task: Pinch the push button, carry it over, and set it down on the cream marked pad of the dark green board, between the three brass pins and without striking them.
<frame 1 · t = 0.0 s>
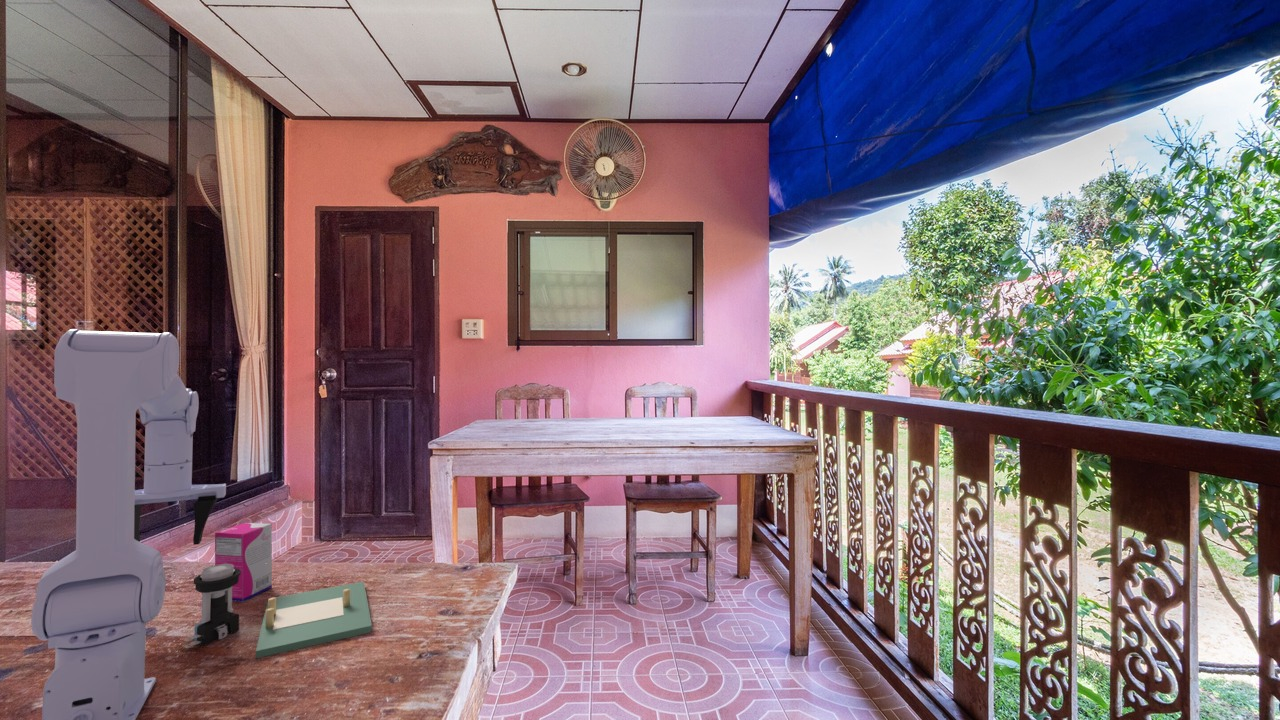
hand: (166, 546, 83), 10 cm above the table, tool pointing down, fingers open, 7 cm apart
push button: (211, 640, 75), on the table
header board: (317, 617, 81), on the table
supplement box: (243, 594, 89), on the table
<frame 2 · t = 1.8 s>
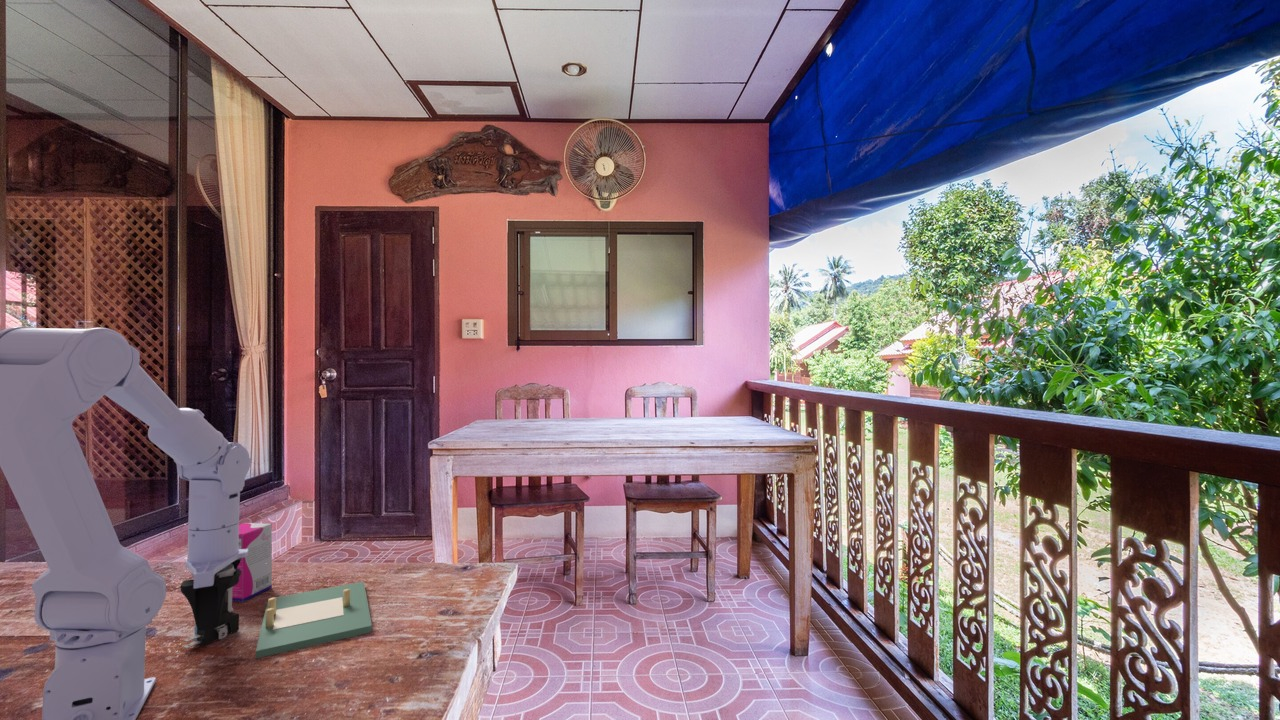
hand: (211, 618, 75), 3 cm above the table, tool pointing down, fingers open, 5 cm apart
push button: (211, 640, 75), on the table, touching gripper
everything else where it was.
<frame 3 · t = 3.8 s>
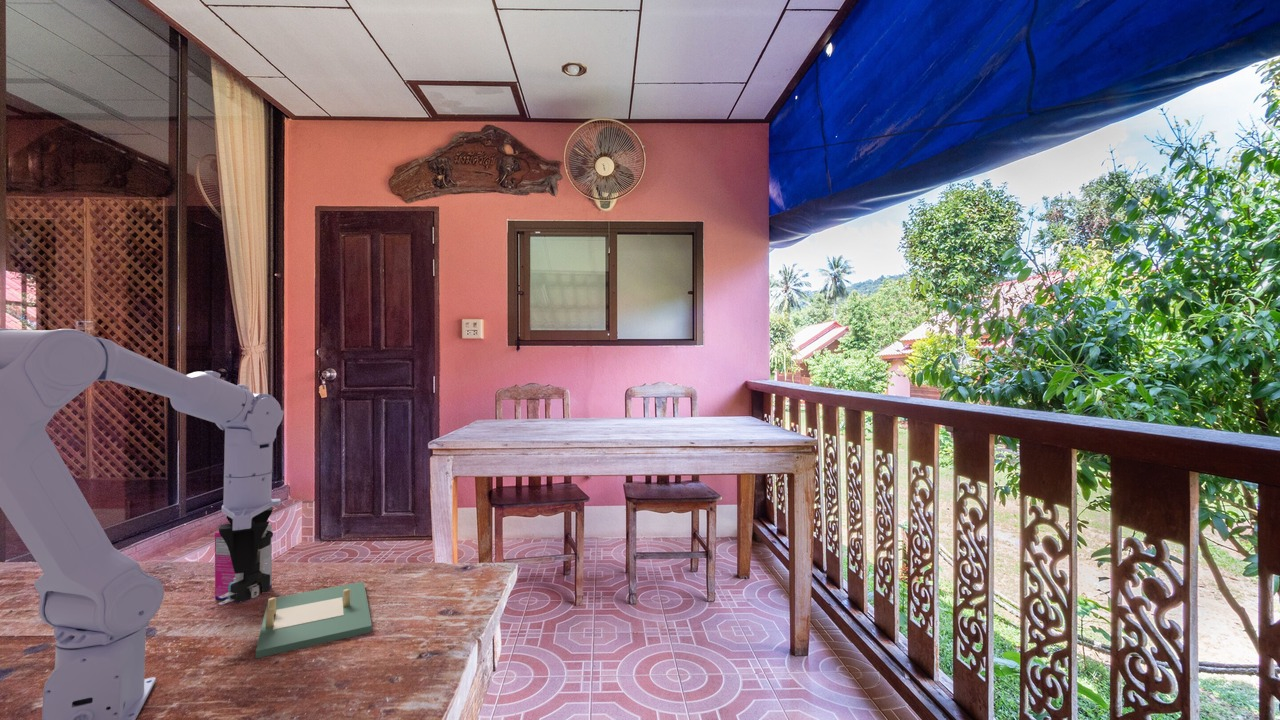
hand: (246, 564, 77), 10 cm above the table, tool pointing down, fingers closed on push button, 5 cm apart
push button: (243, 599, 76), point 5 cm above the table, touching gripper
everything else where it was.
when the fingers open (5 cm above the table, at t = 5.9 s): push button stays where it is, resting on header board.
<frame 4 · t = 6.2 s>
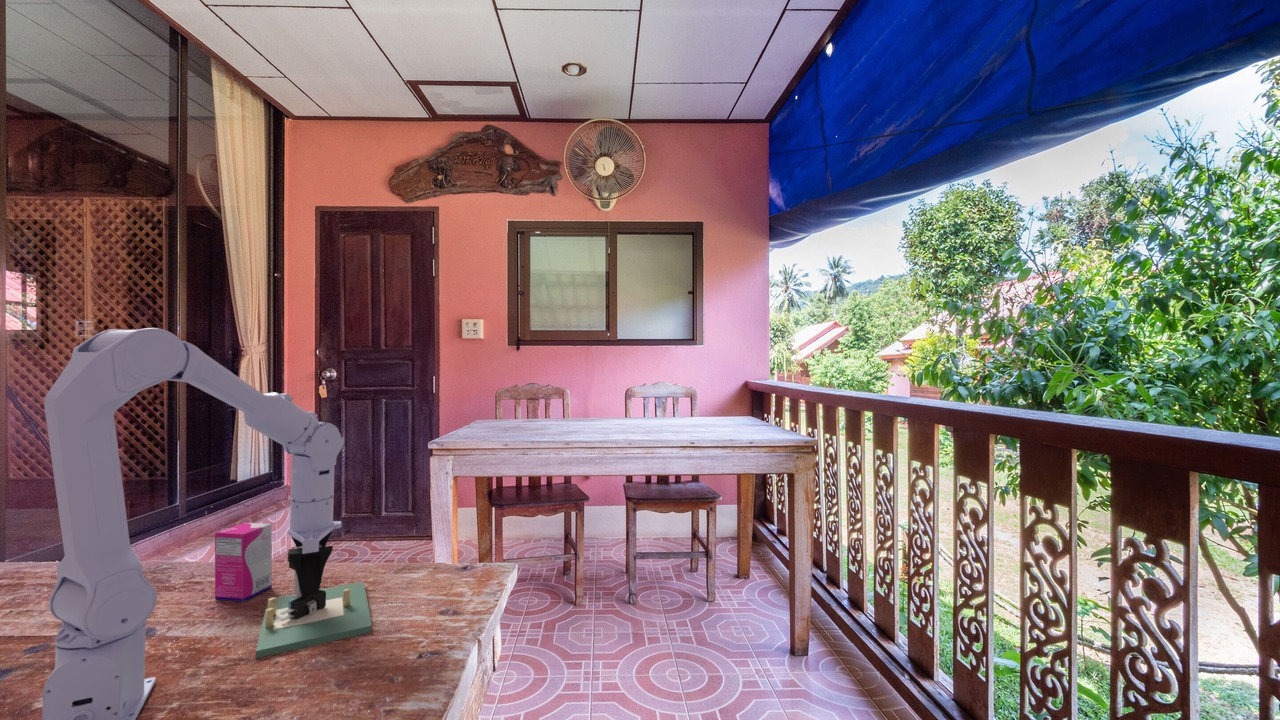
hand: (310, 584, 81), 5 cm above the table, tool pointing down, fingers open, 7 cm apart
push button: (302, 615, 80), point 1 cm above the table, touching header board
everything else where it was.
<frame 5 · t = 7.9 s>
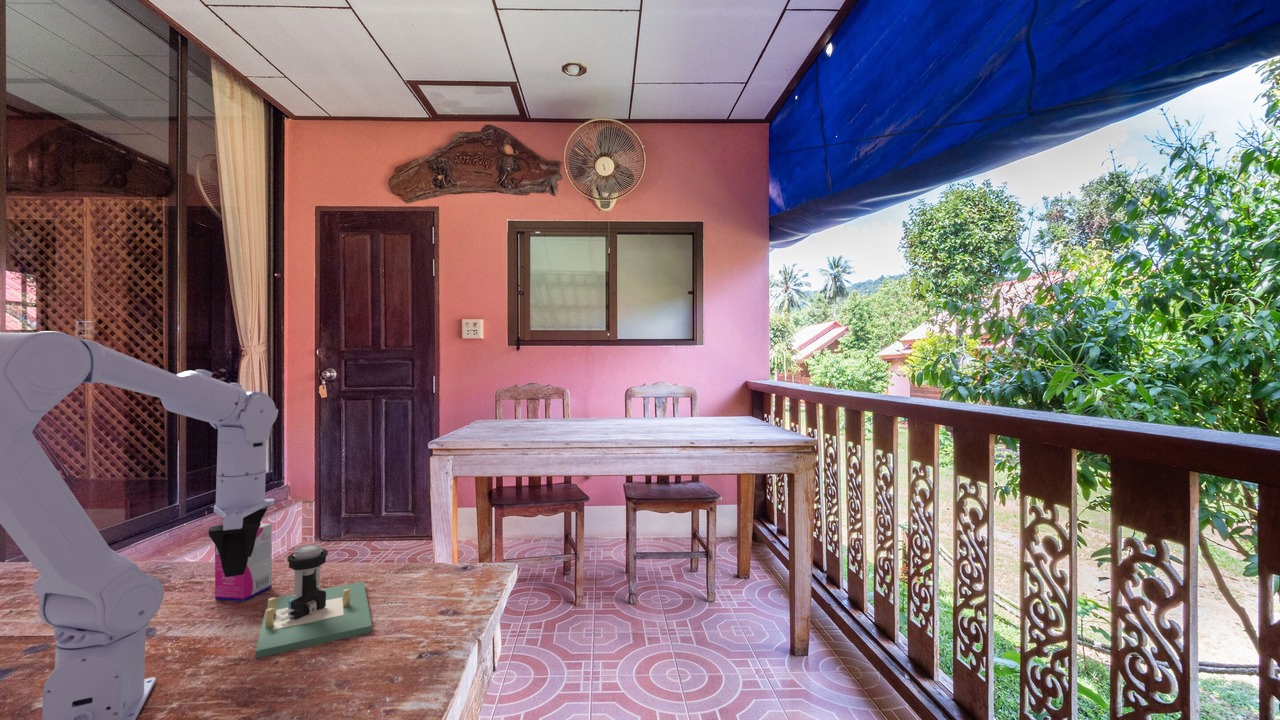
hand: (238, 565, 76), 10 cm above the table, tool pointing down, fingers open, 7 cm apart
nothing on the table moved.
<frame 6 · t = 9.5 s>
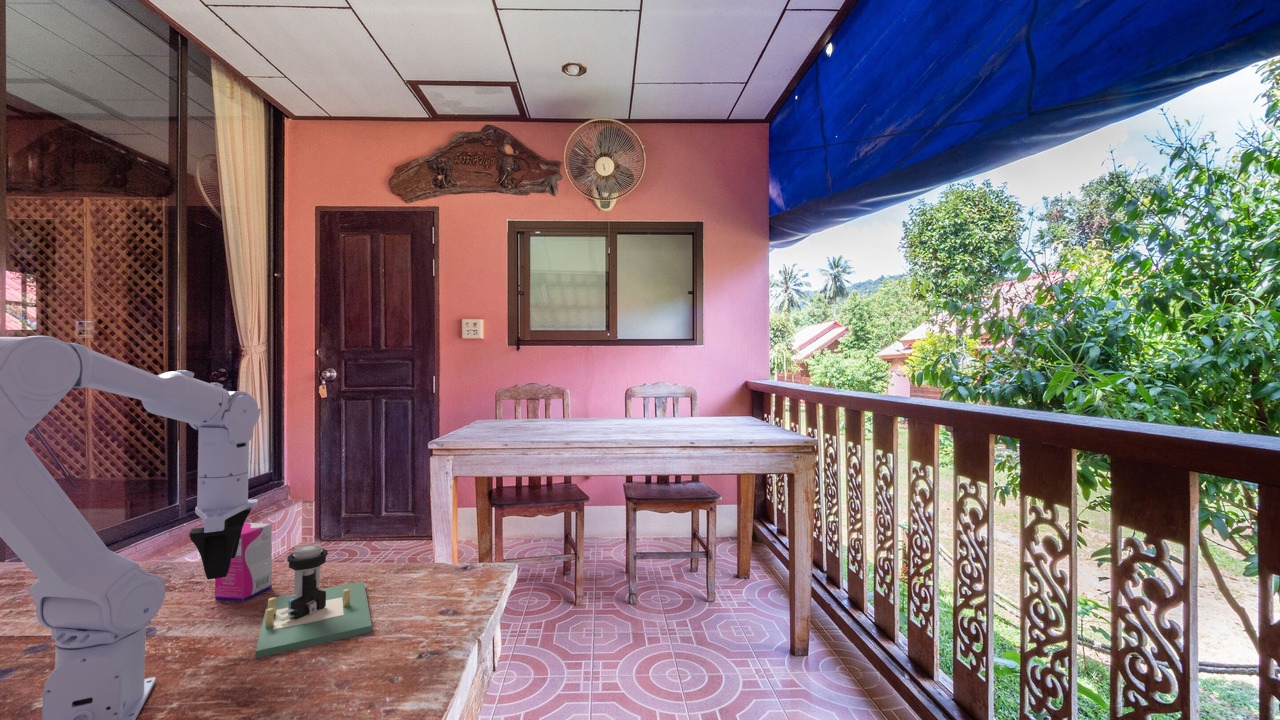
hand: (222, 567, 75), 10 cm above the table, tool pointing down, fingers open, 7 cm apart
nothing on the table moved.
at the end: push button 1.0 cm from the target spot on the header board, point 0.9 cm above the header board's base; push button tilted 0°; the gripper is holding nothing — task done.
